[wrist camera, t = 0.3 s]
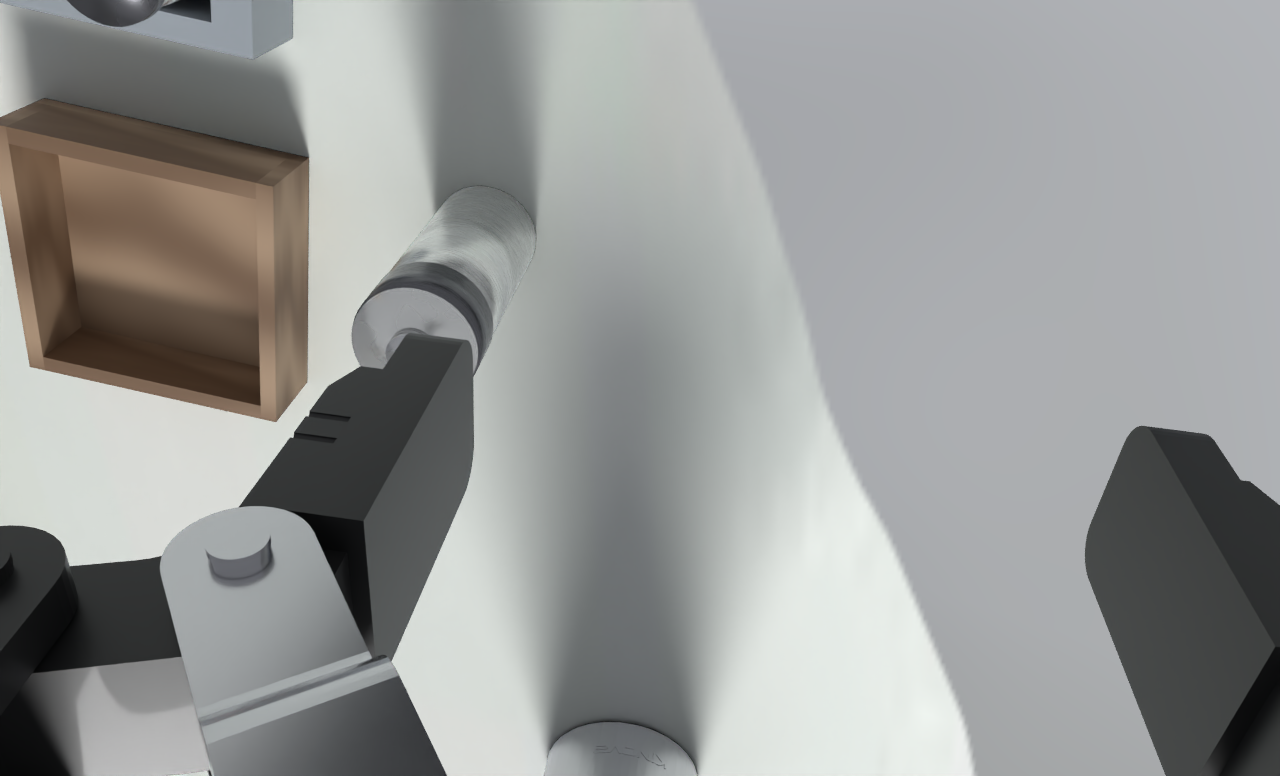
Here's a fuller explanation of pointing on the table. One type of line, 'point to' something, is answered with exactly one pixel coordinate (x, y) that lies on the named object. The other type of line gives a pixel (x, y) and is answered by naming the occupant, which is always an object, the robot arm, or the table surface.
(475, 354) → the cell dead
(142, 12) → the plunger
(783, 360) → the table surface
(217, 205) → the bin
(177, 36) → the tester
